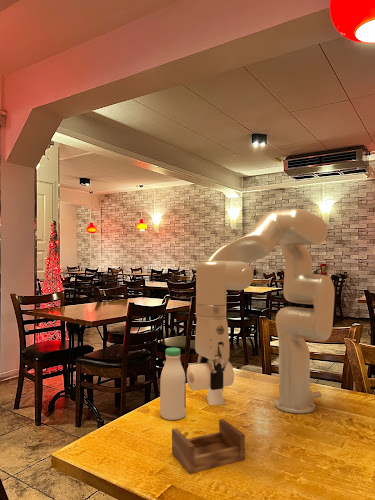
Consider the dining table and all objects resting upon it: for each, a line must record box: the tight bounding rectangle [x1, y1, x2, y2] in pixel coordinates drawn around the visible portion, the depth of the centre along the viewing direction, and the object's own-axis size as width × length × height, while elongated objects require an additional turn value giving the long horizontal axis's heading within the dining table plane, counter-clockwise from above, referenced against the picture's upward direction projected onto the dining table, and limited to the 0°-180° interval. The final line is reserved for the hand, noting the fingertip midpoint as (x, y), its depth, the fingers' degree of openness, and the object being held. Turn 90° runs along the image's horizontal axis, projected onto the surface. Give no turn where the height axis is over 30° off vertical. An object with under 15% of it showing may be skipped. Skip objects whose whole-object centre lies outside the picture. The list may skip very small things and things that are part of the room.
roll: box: [186, 361, 235, 391], centre depth 96 cm, size 10×6×6 cm, turn 115°
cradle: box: [171, 418, 246, 475], centre depth 94 cm, size 14×10×6 cm
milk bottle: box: [159, 347, 187, 421], centre depth 118 cm, size 8×8×20 cm
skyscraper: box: [206, 356, 226, 406], centre depth 129 cm, size 8×8×28 cm
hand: (210, 384), depth 96 cm, fingers closed on roll, 6 cm apart
